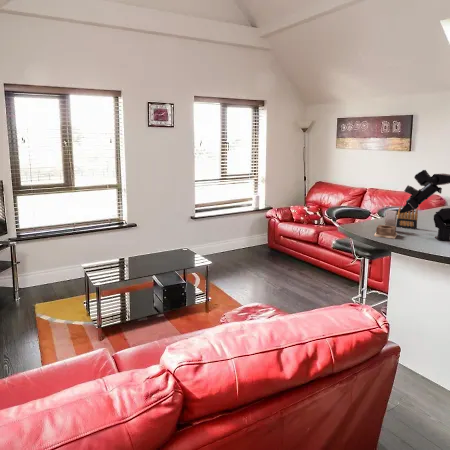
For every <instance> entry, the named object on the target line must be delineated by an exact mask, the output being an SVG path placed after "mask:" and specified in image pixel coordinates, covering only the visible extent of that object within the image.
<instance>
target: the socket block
mask: <svg viewBox="0 0 450 450" xmlns="http://www.w3.org/2000/svg"><path fill="white" fill-rule="evenodd" d="M397 236H398V232H397V227H396V226H388V225H385V224H378V225H377V227H376V232H375V233H374V236H373V237H376V238H377V237H378V238H386V239H396V237H397Z"/></svg>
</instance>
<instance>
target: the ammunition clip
mask: <svg viewBox="0 0 450 450" xmlns="http://www.w3.org/2000/svg"><path fill="white" fill-rule="evenodd" d="M404 206H405V205H404ZM404 206H402V207H401V206H399V207H398V211H397V216H396V228H401V227H402V228H403V229H410V228H411V229H413V230H417V227H418V218H419V213H418V210H419V209H418V208H419V207H418V208H417V209H415V210H411V211H407V212H404V213H400V211H401V210H402V208H403V207H404Z"/></svg>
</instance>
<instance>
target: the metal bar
mask: <svg viewBox="0 0 450 450" xmlns="http://www.w3.org/2000/svg"><path fill="white" fill-rule="evenodd" d="M397 216H398V211H397V210H389V209H387V210H386V211H385V217H384V225H388V226H396V224H397Z"/></svg>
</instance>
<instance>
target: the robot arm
mask: <svg viewBox="0 0 450 450" xmlns="http://www.w3.org/2000/svg"><path fill="white" fill-rule="evenodd" d="M413 178H414V179H415V181H416V182H417V183H418V185H419V186H421V187H422V188H419V189H416V188H414V187H413V186H410V185H409V184H408V185H407V186H406V188H405V189H404V191H403V192H405V193H407V194H409V195H410V196H409V197H408V199H406V203H405V205H404V207H403V206H402V207H401V211H400V213H404V214H405V212H407V213H408V211H411V212H412V210H414V211H416V209H417V208H419V206H420V205H421V204H422V203H424V202H425V201H426V200H428V199H429V198H430V197H432V196H433V195H434V194H435V193H439V194H442V190H443V188H442V187H440V186H444V185H445V186H446V185H449V184H450V174H449V173H434V174H432V175H430V174H429V173H428V171H427V169H422V170H421V171H419V172H418V173H416V174H415V175H414V177H413ZM433 222H434V227H435V228H437V236H434V238H435V239H436V240H438V241H442V242H443V241H444V242H445V241H446V242H450V207H445V208H444V207H443V208H440V209H439V210H438V211H435V214H434V215H433Z"/></svg>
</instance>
